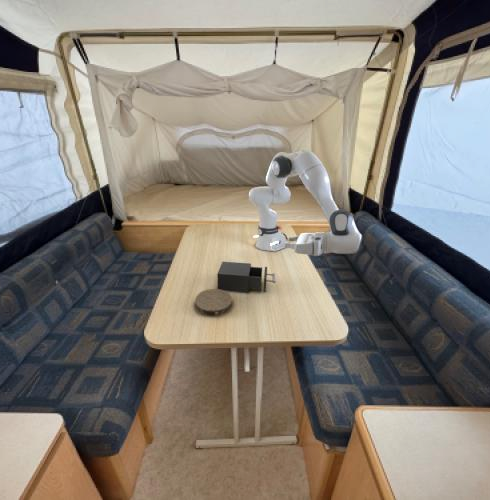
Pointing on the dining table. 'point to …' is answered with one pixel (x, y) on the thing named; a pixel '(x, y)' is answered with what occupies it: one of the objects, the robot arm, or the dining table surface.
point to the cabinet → (234, 277)
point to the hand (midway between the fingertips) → (287, 241)
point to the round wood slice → (213, 302)
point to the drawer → (258, 278)
